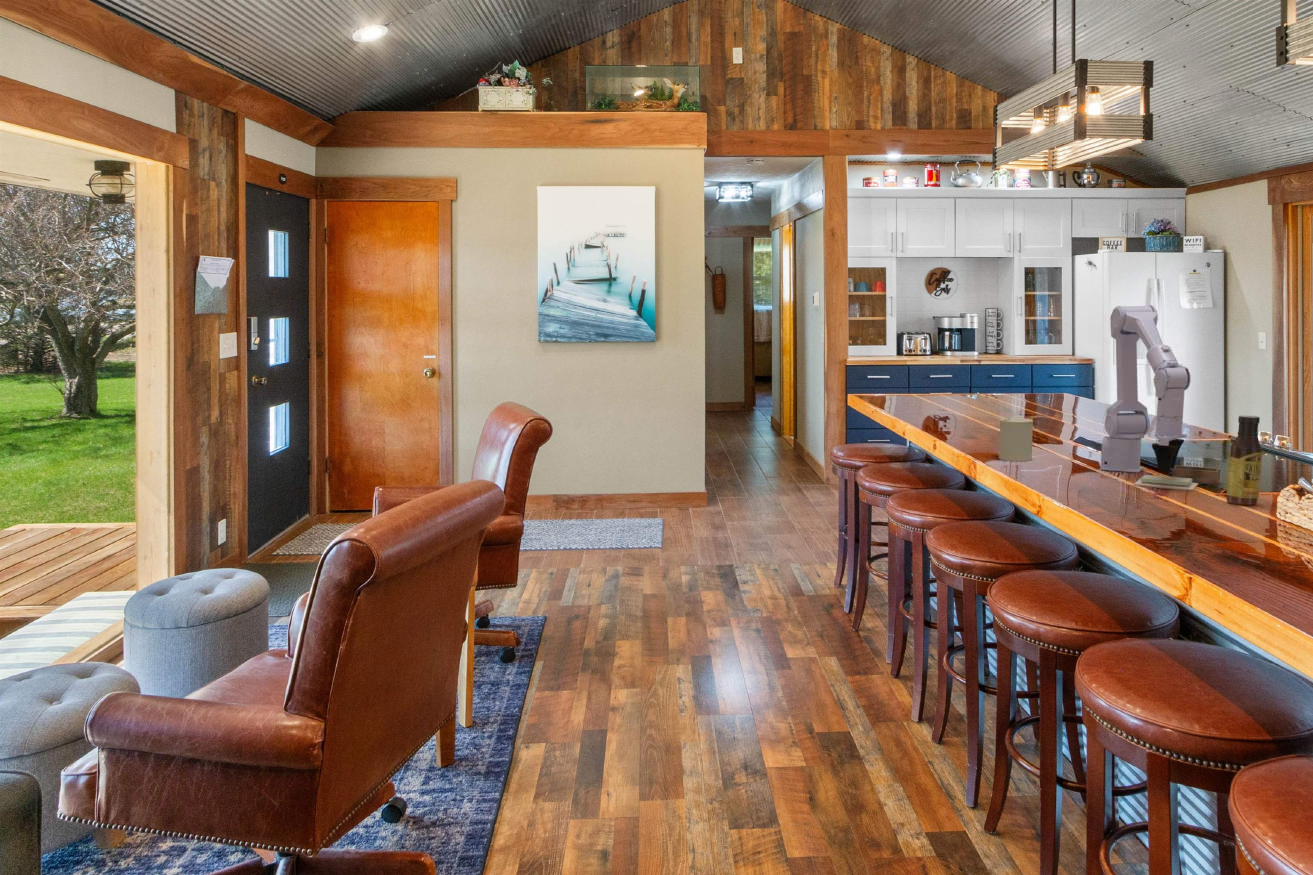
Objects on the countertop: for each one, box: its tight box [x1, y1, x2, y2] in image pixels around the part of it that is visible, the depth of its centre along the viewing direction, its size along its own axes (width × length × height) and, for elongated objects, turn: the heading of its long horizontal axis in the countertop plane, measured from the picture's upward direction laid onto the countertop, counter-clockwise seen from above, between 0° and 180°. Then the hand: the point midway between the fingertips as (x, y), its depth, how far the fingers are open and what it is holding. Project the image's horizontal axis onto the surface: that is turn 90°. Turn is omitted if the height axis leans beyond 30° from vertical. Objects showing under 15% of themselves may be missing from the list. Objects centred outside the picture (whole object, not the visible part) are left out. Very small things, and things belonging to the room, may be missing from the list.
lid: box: [1140, 474, 1192, 486], centre depth 237 cm, size 11×6×1 cm, turn 53°
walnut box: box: [1171, 464, 1221, 486], centre depth 240 cm, size 10×5×4 cm, turn 54°
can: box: [998, 417, 1034, 462], centre depth 279 cm, size 9×9×12 cm
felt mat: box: [1133, 477, 1199, 492], centre depth 237 cm, size 13×8×1 cm, turn 54°
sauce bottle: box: [1226, 415, 1263, 506], centre depth 214 cm, size 6×6×20 cm
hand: (1166, 470), depth 237 cm, fingers open, 7 cm apart
